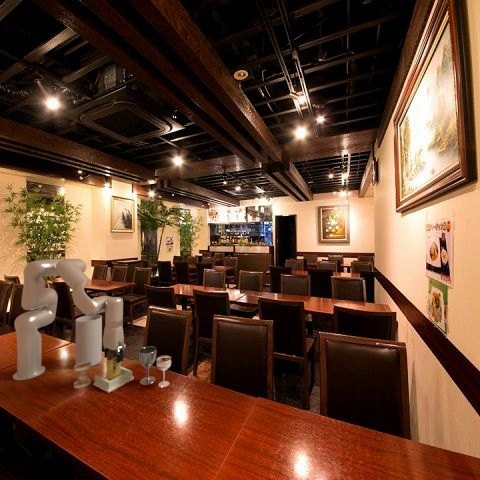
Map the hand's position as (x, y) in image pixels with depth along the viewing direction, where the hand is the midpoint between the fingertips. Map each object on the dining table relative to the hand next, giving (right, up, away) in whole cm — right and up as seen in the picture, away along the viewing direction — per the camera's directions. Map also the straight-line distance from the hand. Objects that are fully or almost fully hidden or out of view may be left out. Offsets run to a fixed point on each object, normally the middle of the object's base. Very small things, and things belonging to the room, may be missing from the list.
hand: (113, 359), depth 121 cm
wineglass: (+25, -11, -2) cm, 27 cm away
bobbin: (-14, -11, -2) cm, 18 cm away
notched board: (0, -11, 0) cm, 11 cm away
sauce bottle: (0, -10, 0) cm, 10 cm away
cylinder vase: (-23, -11, +19) cm, 32 cm away
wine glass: (+16, -11, +1) cm, 20 cm away
